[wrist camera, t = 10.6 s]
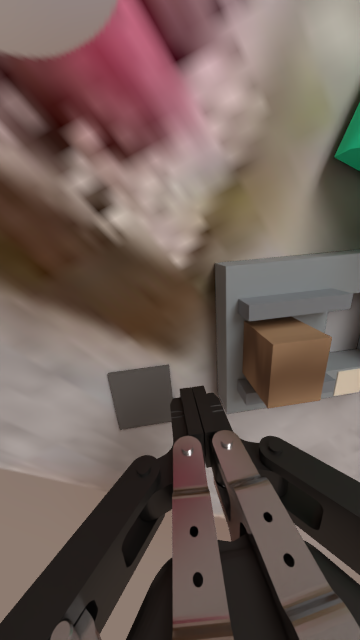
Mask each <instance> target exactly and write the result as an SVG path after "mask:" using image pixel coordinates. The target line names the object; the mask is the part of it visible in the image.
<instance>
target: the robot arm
mask: <svg viewBox="0 0 360 640" xmlns="http://www.w3.org/2000/svg"><path fill="white" fill-rule="evenodd" d="M170 411H171V420H172V430H173V446H172V448H171V449H170V451H169V452H168V453H167V454H165V455H164V456H162V457H160V458H158V459H156V458H154V457H153V456H149V455H145V456H141V457H139V458H137V459H136V460H135V461H134V462H133V463H132V464H131V465H130V466H129V468H128V469H127V470H126V471H125V472H124V474H123V475H122V476H121V477H120V478H119V480H118V481H117V482H116V483H115V485H114V486H113V487H112V488H111V489H110V491H109V492H108V493H107V494H106V495H105V497H104V498H103V499H102V500H101V502H100V503H99V504H98V505H97V507H96V508H95V509H94V510H93V511H92V513H91V514H90V515H89V516H88V517H87V519H86V520H85V521H84V522H83V523H82V525H81V526H80V527H79V528H78V530H77V531H76V532H75V533H74V534H73V536H72V537H71V538H70V539H69V541H68V542H67V543H66V544H65V545H64V547H63V548H62V549H61V550H60V551H59V553H58V554H57V555H56V556H55V558H54V559H53V560H52V561H51V563H50V564H49V565H48V566H47V567H46V569H45V570H44V571H43V572H42V574H41V575H40V576H39V577H38V578H37V579H36V581H35V582H34V583H33V584H32V586H31V587H30V588H29V589H28V590H27V592H26V593H25V594H24V595H23V597H22V598H21V599H20V600H19V601H18V603H17V604H16V605H15V606H14V608H13V609H12V610H11V611H10V612H9V614H8V615H7V616H6V617H5V618H4V620H3V621H2V622H1V623H0V640H101V637H100V633H101V631H102V629H103V627H104V625H105V624H106V622H107V620H108V618H109V616H110V615H111V613H112V611H113V609H114V607H115V605H116V603H117V602H118V600H119V598H120V596H121V595H122V593H123V591H124V589H125V587H126V585H127V584H128V582H129V580H130V578H131V576H132V575H133V573H134V571H135V569H136V567H137V566H138V564H139V562H140V560H141V558H142V556H143V555H144V553H145V551H146V549H147V547H148V546H149V544H150V542H151V540H152V538H153V537H154V535H155V533H156V531H157V529H158V527H159V526H160V524H161V522H162V520H163V518H164V516H165V513H166V512H168V511H170V510H171V509H172V547H173V548H172V551H173V552H172V553H173V554H172V558H171V559H170V560H168V561H167V562H166V563H165V564H164V566H163V567H162V568H161V569H160V571H159V572H158V574H157V575H156V577H155V578H154V580H153V582H152V583H151V586H150V588H149V590H148V592H147V594H146V596H145V599H144V601H143V603H142V605H141V607H140V610H139V612H138V614H137V617H136V618H135V621H134V623H133V625H132V628H131V630H130V632H129V634H128V636H127V638H126V640H360V585H359V584H358V583H357V582H356V581H355V580H353V579H352V578H351V577H350V576H349V575H347V574H346V573H345V572H344V571H343V570H341V569H340V568H339V567H338V566H337V565H336V564H334V563H333V562H332V561H330V559H328V558H327V557H326V556H325V555H324V554H322V553H321V552H320V551H319V550H318V549H316V548H315V547H314V546H312V545H311V544H309V543H308V542H306V541H304V540H303V539H302V537H301V535H300V534H299V532H298V530H297V528H296V526H295V525H297V526H298V527H299V528H300V529H302V530H303V531H304V532H306V533H307V534H308V535H309V536H311V537H312V538H313V539H314V540H316V541H317V542H318V543H320V544H321V545H322V546H323V547H325V548H326V549H327V550H329V551H330V552H331V553H332V554H334V555H335V556H336V557H337V558H339V559H340V560H341V561H343V562H344V563H345V564H346V565H348V566H349V567H350V568H351V569H353V570H354V571H355V572H356V573H358V574H359V575H360V482H358V481H356V480H354V479H353V478H351V477H349V476H347V475H345V474H344V473H342V472H340V471H338V470H336V469H335V468H333V467H331V466H329V465H327V464H326V463H324V462H322V461H320V460H318V459H316V458H315V457H313V456H311V455H309V454H307V453H306V452H304V451H302V450H300V449H298V448H297V447H295V446H293V445H291V444H289V443H288V442H286V441H284V440H282V439H280V438H278V437H274V436H266V437H264V438H262V439H261V441H260V443H254V442H248V441H244V440H242V439H240V438H239V437H238V435H236V434H235V433H234V432H233V430H232V428H231V426H230V424H229V421H228V419H227V417H226V414H225V412H224V410H223V407H222V406H221V403H220V400H219V398H218V397H217V396H216V395H215V394H214V393H208V394H206V391H205V389H204V386H197V387H192V388H191V387H190V388H183V389H180V398H173V399H172V401H171V404H170ZM205 463H206V467H207V468H208V467H212V471H213V476H214V485H215V488H216V491H217V494H218V497H219V500H220V503H221V506H222V509H223V512H224V515H225V518H226V521H227V524H228V527H229V532H230V537H231V542H228V541H222V540H217V535H216V528H215V523H214V516H213V510H212V503H211V497H210V491H209V489H208V485H207V478H206V472H205ZM294 524H295V525H294Z"/></svg>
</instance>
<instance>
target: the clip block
mask: <svg viewBox="0 0 360 640" xmlns="http://www.w3.org/2000/svg"><path fill="white" fill-rule="evenodd" d="M331 341H332V337H330V336H328V335H326V334H325V333H323V332H321V331H319V330H317V329H315V328H313V327H311V326H309V325H307V324H305V323H303V322H301V321H299V320H297V319H295V318H293V317H291V316H289V317H281V318H273V319H265V320H256V321H248V320H247V321H244V340H243V369H242V373H243V374H244V376H245V377H246V378H247V380H248V381H249V383H250V384H251V386H252V387H253V388H254V390H255V391H256V393H257V394H258V395H259V397H260V398H261V400H262V401H263V402H264V404H265V405H266V407H267V408H273V407H280V406H286V405H293V404H299V403H306V402H312V401H319V400H320V399H321V394H322V388H323V383H324V378H325V372H326V367H327V362H328V357H329V351H330V346H331Z"/></svg>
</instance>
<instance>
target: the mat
mask: <svg viewBox="0 0 360 640" xmlns="http://www.w3.org/2000/svg"><path fill="white" fill-rule="evenodd" d="M108 379H109V384H110V388H111V392H112V397H113V401H114V405H115V410H116V414H117V418H118V423H119V427H120V430H122V429H128V428H134V427H140V426H147V425H153V424H159V423H165V422H171V421H172V420H171V411H170V404H171V401H172V399H173V397H172V389H171V380H170V371H169V365H163V366H155V367H148V368H141V369H133V370H126V371H119V372H111V373H108Z"/></svg>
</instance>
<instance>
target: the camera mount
mask: <svg viewBox="0 0 360 640" xmlns="http://www.w3.org/2000/svg"><path fill="white" fill-rule="evenodd" d="M334 157H335V158H337V159H338V160H340V161H342V162H344V163H346V164H348V165H349V166H351V167H353V168H355V169H357V170H359V171H360V102H359V105H358V107H357V109H356V111H355V113H354V115H353V118H352V120H351V122H350V124H349V126H348V128H347V130H346V133H345V135H344V137H343V139H342V141H341V143H340V146H339V148H338V150H337V152H336V154H335V156H334Z"/></svg>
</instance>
